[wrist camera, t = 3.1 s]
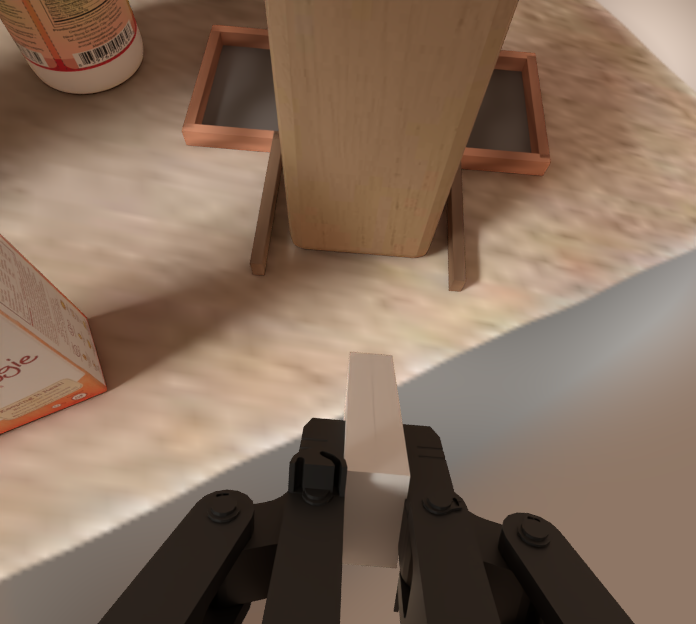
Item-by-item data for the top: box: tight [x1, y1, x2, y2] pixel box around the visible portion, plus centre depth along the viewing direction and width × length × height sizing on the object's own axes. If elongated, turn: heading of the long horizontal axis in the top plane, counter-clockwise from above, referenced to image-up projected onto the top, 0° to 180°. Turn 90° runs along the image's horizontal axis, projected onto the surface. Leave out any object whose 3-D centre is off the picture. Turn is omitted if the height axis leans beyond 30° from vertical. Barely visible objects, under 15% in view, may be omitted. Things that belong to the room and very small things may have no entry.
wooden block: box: [265, 0, 519, 258], centre depth 28 cm, size 10×10×20 cm
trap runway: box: [182, 25, 551, 291], centre depth 41 cm, size 29×37×3 cm
